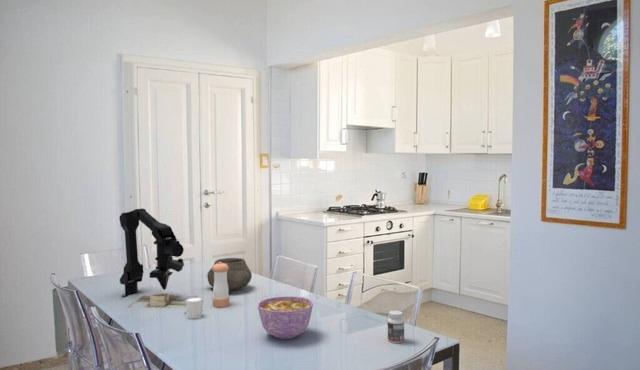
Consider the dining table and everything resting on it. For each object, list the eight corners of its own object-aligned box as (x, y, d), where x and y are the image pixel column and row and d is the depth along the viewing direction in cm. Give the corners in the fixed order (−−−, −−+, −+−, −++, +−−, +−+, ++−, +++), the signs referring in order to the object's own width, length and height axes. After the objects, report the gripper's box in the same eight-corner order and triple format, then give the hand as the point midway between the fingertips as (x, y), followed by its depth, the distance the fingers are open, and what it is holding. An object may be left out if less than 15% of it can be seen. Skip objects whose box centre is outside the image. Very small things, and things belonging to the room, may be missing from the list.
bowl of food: (284, 322, 199) (284, 293, 198) (324, 333, 186) (324, 302, 186) (246, 337, 183) (245, 305, 183) (287, 349, 171) (286, 315, 170)
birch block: (155, 302, 225) (155, 293, 225) (168, 302, 225) (168, 293, 225) (150, 306, 219) (150, 297, 219) (164, 306, 219) (163, 296, 219)
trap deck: (143, 299, 237) (143, 295, 236) (198, 299, 235) (197, 295, 235) (126, 310, 219) (126, 307, 218) (185, 310, 217) (185, 307, 217)
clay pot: (200, 289, 253) (199, 259, 252) (238, 282, 266) (238, 254, 265) (220, 298, 235) (219, 266, 235) (260, 290, 248) (259, 260, 248)
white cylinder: (198, 319, 205) (198, 302, 205) (182, 318, 206) (182, 301, 206) (206, 314, 212) (205, 297, 211) (190, 313, 213) (190, 296, 213)
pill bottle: (386, 338, 180) (385, 310, 180) (402, 337, 181) (401, 309, 180) (389, 343, 175) (389, 315, 174) (406, 343, 175) (405, 314, 175)
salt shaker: (225, 308, 220) (224, 263, 219) (210, 307, 222) (208, 263, 221) (232, 303, 227) (231, 260, 226) (216, 302, 229) (215, 260, 228)
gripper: (174, 258, 217) (175, 295, 218) (188, 250, 236) (188, 284, 237) (148, 258, 218) (149, 294, 219) (164, 250, 237) (165, 284, 237)
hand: (164, 289), depth 228 cm, fingers closed
